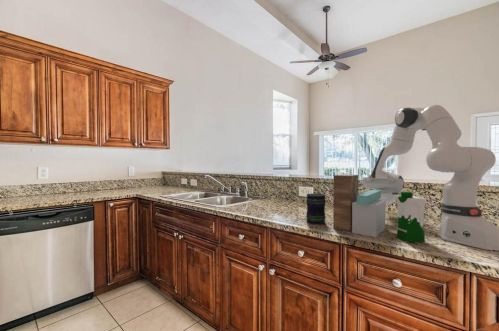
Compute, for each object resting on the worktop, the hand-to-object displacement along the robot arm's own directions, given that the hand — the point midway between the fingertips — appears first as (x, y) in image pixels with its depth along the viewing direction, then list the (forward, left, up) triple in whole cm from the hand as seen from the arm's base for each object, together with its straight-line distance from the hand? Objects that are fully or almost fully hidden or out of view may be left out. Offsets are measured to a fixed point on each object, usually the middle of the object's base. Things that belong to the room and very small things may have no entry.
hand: (379, 176), depth 129 cm
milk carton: (-27, +12, -25) cm, 38 cm away
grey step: (-11, +18, -25) cm, 32 cm away
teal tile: (-10, +17, -11) cm, 22 cm away
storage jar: (+11, +32, -25) cm, 42 cm away
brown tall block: (-2, +24, -25) cm, 35 cm away
